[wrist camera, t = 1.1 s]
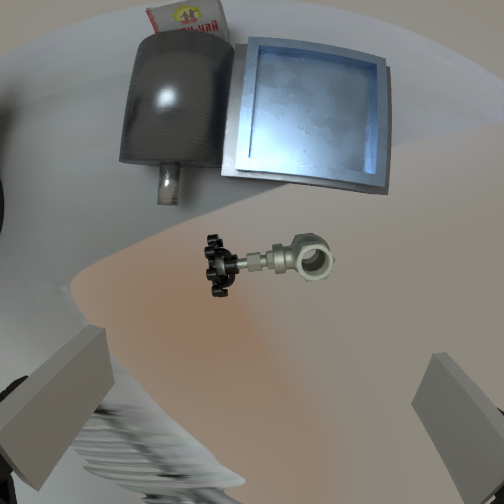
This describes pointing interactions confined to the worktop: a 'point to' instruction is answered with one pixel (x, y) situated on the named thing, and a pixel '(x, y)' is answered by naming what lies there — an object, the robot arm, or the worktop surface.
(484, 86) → the worktop surface
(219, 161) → the motor
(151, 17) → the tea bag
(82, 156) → the worktop surface
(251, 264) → the valve
